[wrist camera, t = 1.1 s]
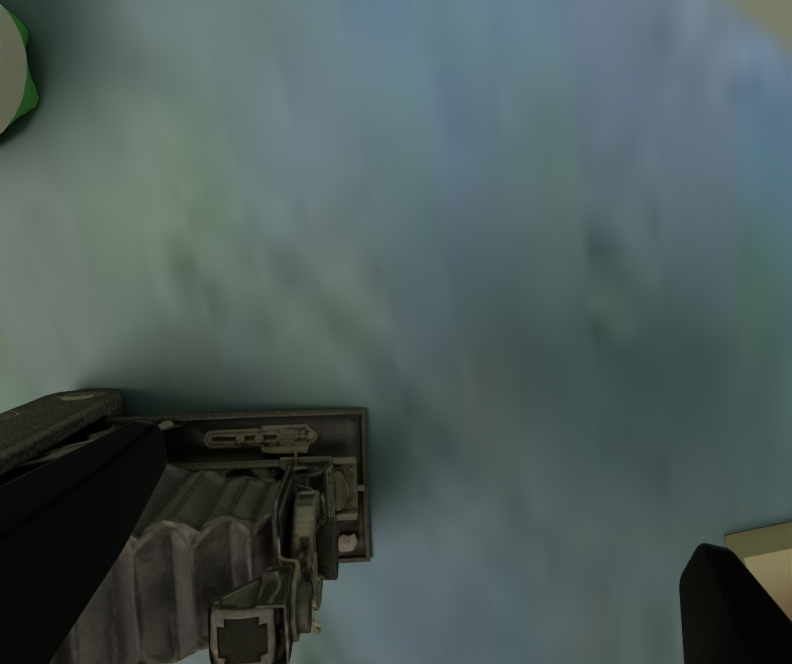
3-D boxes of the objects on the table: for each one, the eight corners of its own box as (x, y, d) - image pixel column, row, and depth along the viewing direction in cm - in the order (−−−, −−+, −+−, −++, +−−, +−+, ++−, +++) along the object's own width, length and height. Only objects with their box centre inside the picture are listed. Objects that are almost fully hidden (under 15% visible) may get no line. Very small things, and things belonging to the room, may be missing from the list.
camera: (367, 548, 32) (403, 998, 12) (53, 560, 30) (-505, 1096, 10) (367, 356, 31) (406, 497, 11) (43, 359, 29) (-598, 525, 9)
